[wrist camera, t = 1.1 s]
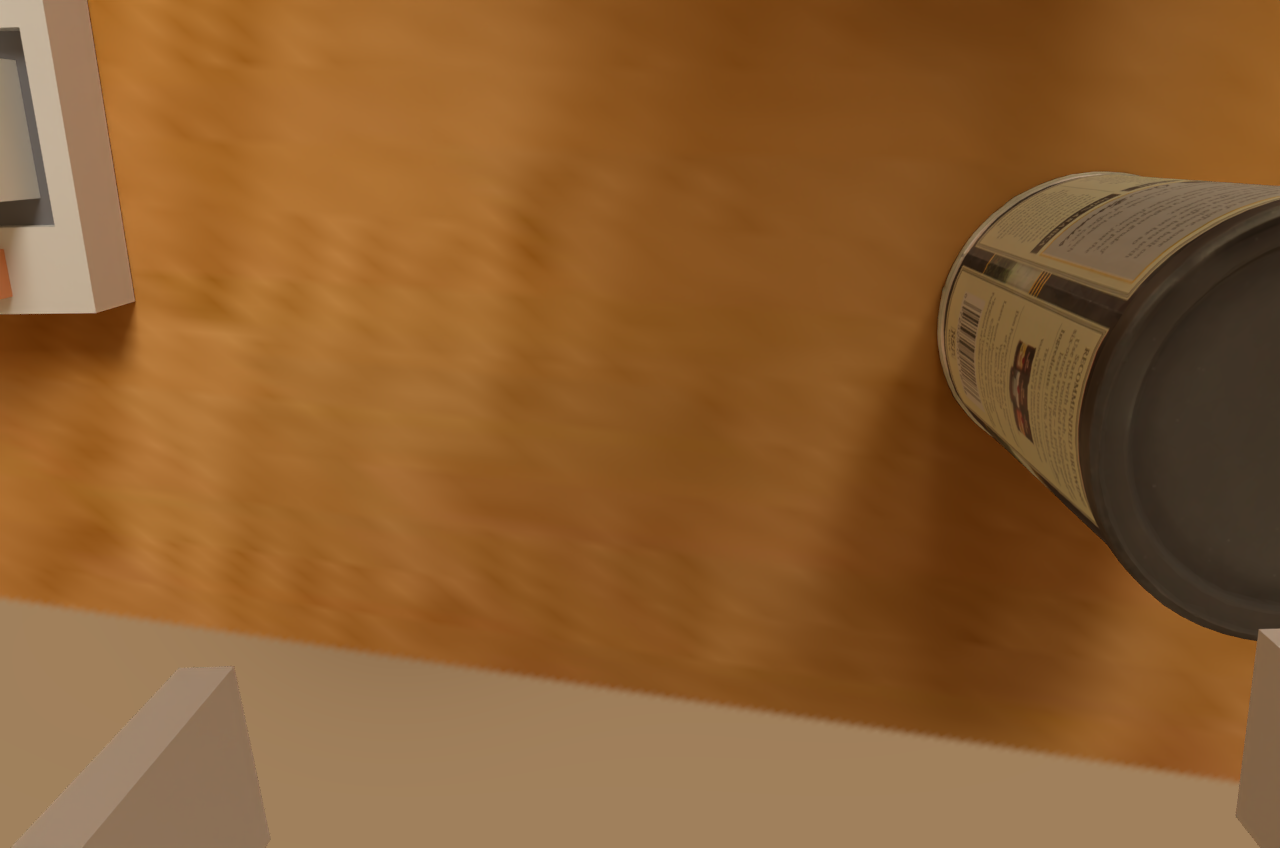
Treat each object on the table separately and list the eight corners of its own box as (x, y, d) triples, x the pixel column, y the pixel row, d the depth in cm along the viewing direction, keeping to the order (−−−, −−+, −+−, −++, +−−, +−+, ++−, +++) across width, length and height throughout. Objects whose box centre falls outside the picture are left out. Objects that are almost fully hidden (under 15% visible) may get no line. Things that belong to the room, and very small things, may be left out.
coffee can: (1280, 369, 35) (1653, 514, 22) (1011, 506, 37) (1199, 718, 23) (1164, 107, 33) (1499, 85, 19) (883, 266, 35) (1010, 348, 21)
